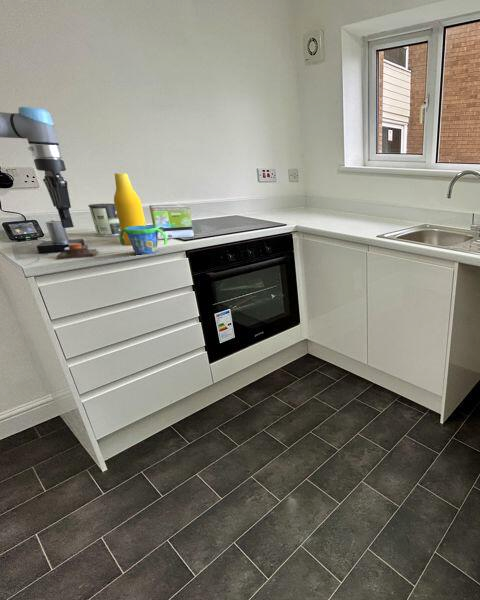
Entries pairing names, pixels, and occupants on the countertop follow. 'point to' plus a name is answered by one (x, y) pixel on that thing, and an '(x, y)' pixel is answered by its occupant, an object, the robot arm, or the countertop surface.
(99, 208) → the coffee can
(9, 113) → the robot arm
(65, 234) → the dial
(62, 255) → the button block
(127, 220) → the beer bottle
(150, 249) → the snack cup
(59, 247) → the control panel
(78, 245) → the button
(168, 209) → the tea box
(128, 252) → the countertop surface
